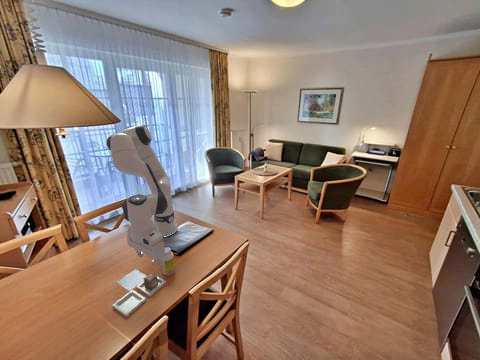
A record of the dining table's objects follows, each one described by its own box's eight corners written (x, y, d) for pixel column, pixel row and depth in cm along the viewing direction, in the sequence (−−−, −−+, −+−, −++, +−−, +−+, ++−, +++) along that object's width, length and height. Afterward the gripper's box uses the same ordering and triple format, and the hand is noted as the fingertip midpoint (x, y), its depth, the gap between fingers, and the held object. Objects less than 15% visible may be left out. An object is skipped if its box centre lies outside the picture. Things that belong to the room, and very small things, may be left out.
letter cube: (145, 287, 98) (143, 278, 96) (152, 281, 101) (150, 272, 100) (151, 290, 96) (149, 281, 94) (158, 284, 99) (157, 275, 98)
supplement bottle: (177, 268, 111) (175, 247, 106) (170, 277, 105) (167, 255, 100) (166, 265, 112) (164, 244, 108) (158, 274, 106) (155, 252, 102)
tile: (116, 283, 101) (116, 282, 100) (135, 270, 109) (135, 269, 109) (129, 292, 96) (129, 291, 96) (148, 277, 104) (148, 276, 104)
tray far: (113, 308, 88) (112, 304, 88) (132, 292, 96) (132, 289, 95) (126, 318, 84) (125, 315, 84) (146, 301, 92) (145, 298, 91)
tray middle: (136, 289, 97) (136, 286, 97) (153, 276, 105) (152, 273, 104) (150, 297, 93) (149, 294, 93) (166, 284, 101) (165, 280, 100)
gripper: (120, 229, 92) (126, 256, 96) (153, 244, 82) (157, 272, 87) (134, 223, 97) (138, 248, 102) (165, 236, 88) (169, 263, 92)
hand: (147, 259), depth 94 cm, fingers open, 8 cm apart
